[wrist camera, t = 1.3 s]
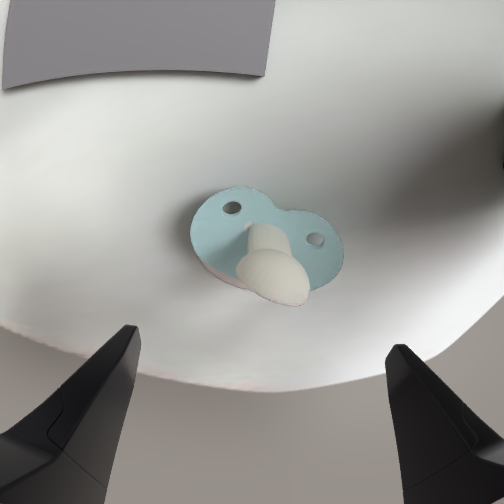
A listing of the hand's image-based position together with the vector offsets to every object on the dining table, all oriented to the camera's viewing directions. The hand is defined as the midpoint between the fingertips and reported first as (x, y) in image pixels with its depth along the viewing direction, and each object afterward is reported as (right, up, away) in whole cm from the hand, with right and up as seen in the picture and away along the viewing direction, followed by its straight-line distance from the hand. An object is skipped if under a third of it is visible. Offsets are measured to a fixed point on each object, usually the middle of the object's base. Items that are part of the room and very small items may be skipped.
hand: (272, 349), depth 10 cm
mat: (-6, +17, -2) cm, 19 cm away
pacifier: (0, +4, +7) cm, 8 cm away
